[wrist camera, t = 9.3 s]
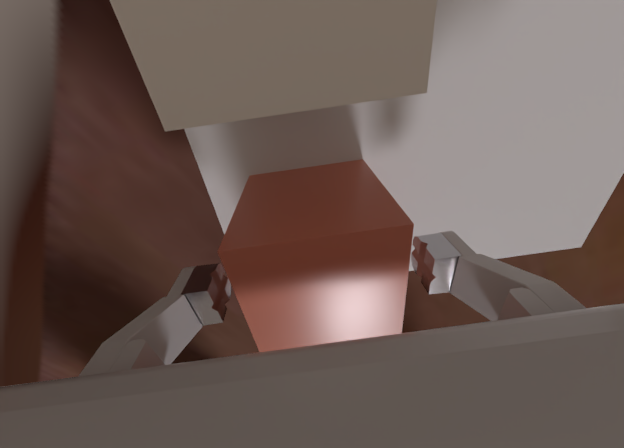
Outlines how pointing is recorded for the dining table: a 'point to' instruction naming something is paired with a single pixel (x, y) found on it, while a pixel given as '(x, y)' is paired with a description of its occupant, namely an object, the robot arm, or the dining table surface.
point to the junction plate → (469, 129)
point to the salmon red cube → (318, 256)
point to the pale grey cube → (274, 54)
